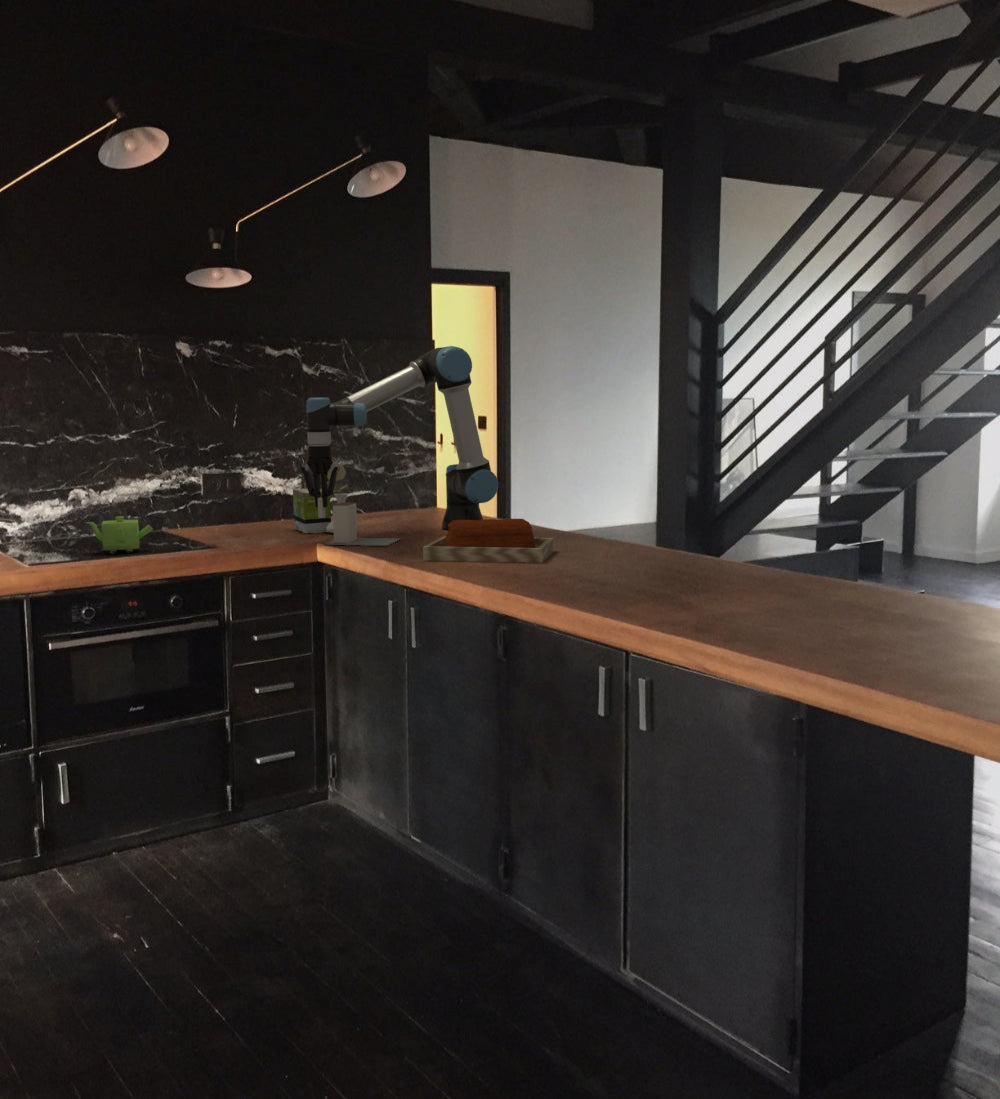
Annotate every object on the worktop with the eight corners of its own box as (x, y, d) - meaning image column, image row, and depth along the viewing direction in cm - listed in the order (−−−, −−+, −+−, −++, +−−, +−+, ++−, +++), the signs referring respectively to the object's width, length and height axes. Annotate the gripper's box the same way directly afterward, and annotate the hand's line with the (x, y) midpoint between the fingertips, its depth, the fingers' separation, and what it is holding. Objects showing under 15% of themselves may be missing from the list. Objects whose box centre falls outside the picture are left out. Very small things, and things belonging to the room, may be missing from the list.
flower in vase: (364, 532, 402) (363, 461, 398) (347, 536, 392) (345, 463, 388) (333, 530, 407) (331, 460, 404) (315, 534, 397) (313, 462, 394)
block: (357, 539, 378) (356, 502, 376) (348, 542, 369) (347, 505, 368) (342, 538, 379) (341, 502, 377) (333, 542, 370) (332, 505, 369)
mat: (400, 540, 379) (400, 538, 379) (387, 546, 363) (387, 544, 363) (340, 539, 383) (340, 537, 383) (324, 545, 367) (324, 543, 367)
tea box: (293, 529, 411) (292, 488, 409) (320, 528, 415) (319, 487, 413) (304, 534, 398) (303, 492, 396) (332, 532, 402) (331, 490, 400)
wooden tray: (553, 554, 350) (553, 538, 350) (541, 566, 327) (541, 548, 326) (442, 552, 357) (442, 536, 356) (423, 563, 334) (423, 546, 333)
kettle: (86, 553, 355) (84, 517, 353) (120, 548, 367) (118, 513, 366) (122, 556, 348) (120, 519, 347) (155, 550, 361) (153, 515, 359)
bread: (538, 557, 336) (538, 521, 335) (448, 560, 332) (447, 524, 331) (529, 550, 351) (529, 515, 350) (443, 552, 348) (442, 518, 346)
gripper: (342, 444, 374) (344, 516, 377) (304, 444, 376) (307, 515, 380) (334, 445, 366) (337, 518, 370) (296, 445, 369) (298, 518, 372)
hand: (321, 517), depth 375 cm, fingers closed
